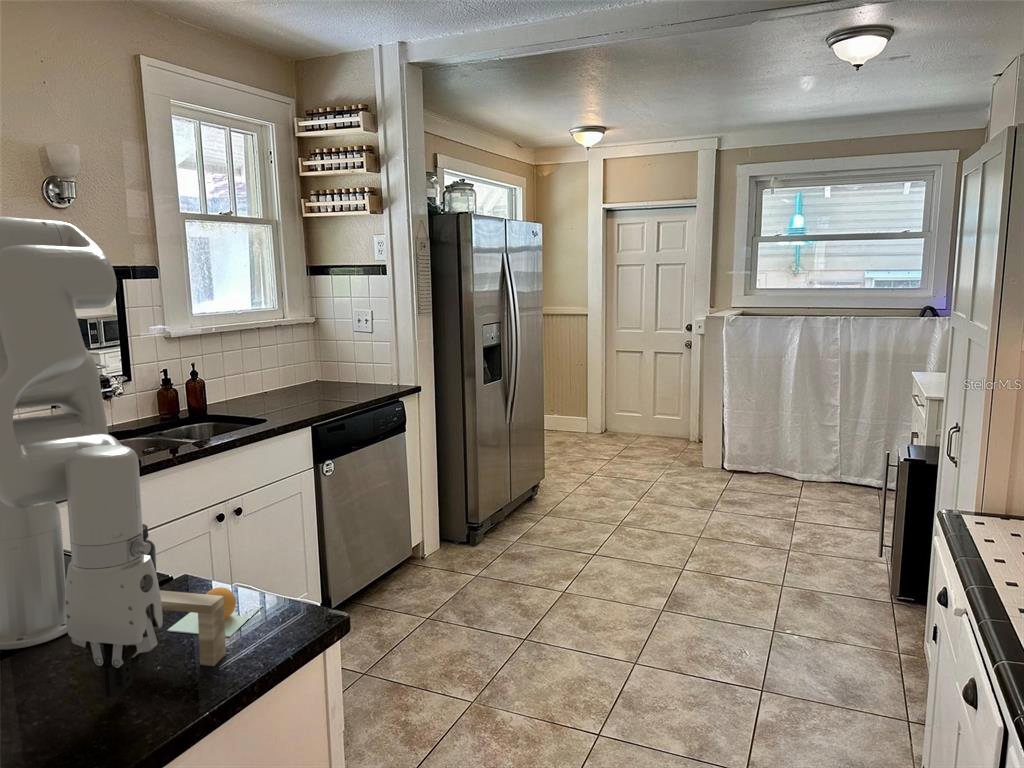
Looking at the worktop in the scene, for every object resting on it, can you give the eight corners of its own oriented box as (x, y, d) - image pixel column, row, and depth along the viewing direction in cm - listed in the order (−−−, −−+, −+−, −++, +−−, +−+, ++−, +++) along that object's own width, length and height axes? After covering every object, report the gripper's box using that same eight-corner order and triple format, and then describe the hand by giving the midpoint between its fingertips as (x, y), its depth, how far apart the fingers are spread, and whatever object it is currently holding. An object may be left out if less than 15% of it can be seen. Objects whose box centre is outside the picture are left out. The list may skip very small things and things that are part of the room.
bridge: (213, 666, 95) (211, 605, 94) (120, 656, 97) (116, 597, 95) (225, 654, 98) (223, 595, 96) (134, 645, 100) (131, 587, 98)
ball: (215, 583, 110) (212, 615, 110) (194, 589, 106) (192, 623, 105) (243, 585, 109) (241, 618, 109) (224, 592, 105) (222, 626, 104)
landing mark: (167, 631, 104) (167, 630, 104) (205, 601, 114) (205, 600, 114) (230, 637, 102) (229, 636, 102) (263, 606, 112) (263, 605, 112)
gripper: (184, 542, 86) (191, 680, 89) (75, 534, 88) (85, 668, 91) (144, 566, 79) (153, 715, 82) (26, 556, 81) (39, 702, 84)
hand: (117, 690), depth 86 cm, fingers closed
